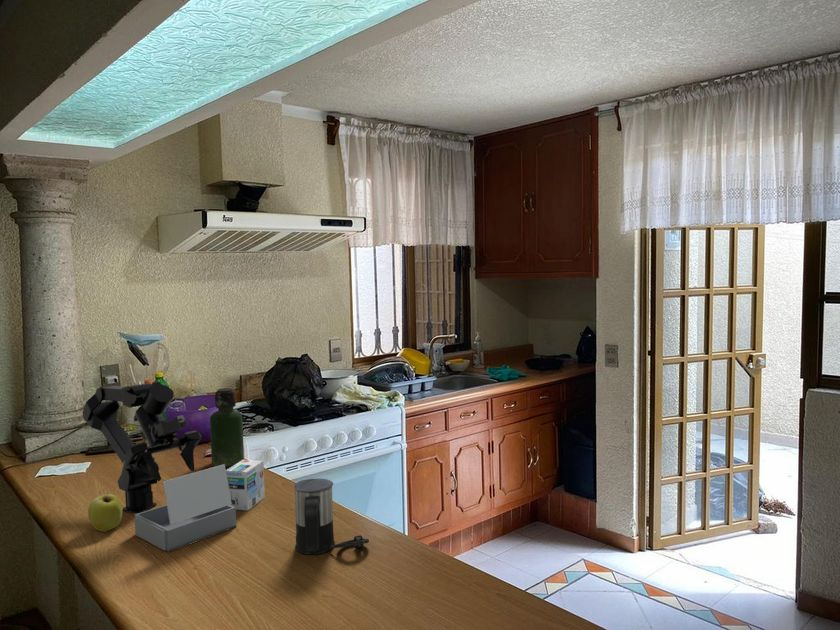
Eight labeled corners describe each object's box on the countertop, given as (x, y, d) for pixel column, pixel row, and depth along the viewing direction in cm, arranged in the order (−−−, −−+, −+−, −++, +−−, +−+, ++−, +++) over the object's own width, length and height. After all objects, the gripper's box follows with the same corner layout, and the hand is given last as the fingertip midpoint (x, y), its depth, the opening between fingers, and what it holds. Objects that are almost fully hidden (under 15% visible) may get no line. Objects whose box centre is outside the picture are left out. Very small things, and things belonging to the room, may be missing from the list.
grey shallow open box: (133, 534, 155) (132, 514, 155) (202, 511, 170) (201, 493, 169) (167, 552, 145) (166, 531, 144) (237, 526, 159) (236, 507, 159)
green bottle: (215, 459, 217) (212, 387, 215) (246, 457, 218) (243, 386, 216) (208, 468, 206) (205, 393, 204) (241, 467, 207) (238, 392, 206)
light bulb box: (248, 511, 169) (246, 472, 168) (225, 509, 170) (223, 470, 170) (265, 497, 179) (264, 460, 179) (243, 495, 181) (242, 459, 180)
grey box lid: (170, 524, 146) (163, 481, 147) (230, 504, 158) (223, 464, 159) (171, 524, 145) (164, 481, 146) (231, 504, 158) (224, 464, 158)
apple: (81, 534, 156) (79, 494, 155) (107, 521, 163) (105, 484, 163) (105, 538, 153) (103, 498, 152) (131, 525, 161) (129, 487, 160)
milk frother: (291, 542, 149) (289, 480, 148) (355, 530, 156) (353, 471, 154) (304, 567, 136) (302, 500, 135) (374, 553, 142) (372, 489, 141)
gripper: (127, 413, 153) (152, 467, 147) (197, 400, 168) (221, 449, 162) (113, 439, 159) (136, 492, 153) (181, 424, 173) (205, 472, 167)
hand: (176, 475), depth 159 cm, fingers open, 9 cm apart
